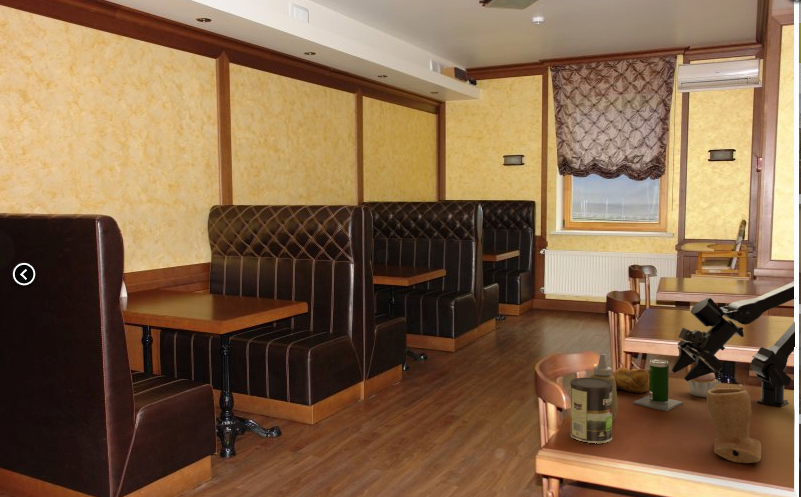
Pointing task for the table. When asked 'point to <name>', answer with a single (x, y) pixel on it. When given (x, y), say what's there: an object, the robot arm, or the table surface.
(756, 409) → the table surface
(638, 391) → the bread roll
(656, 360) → the guarana soda can
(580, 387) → the coffee can
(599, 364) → the squeeze bottle
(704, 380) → the cupcake
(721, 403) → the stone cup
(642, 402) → the coaster
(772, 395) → the robot arm
